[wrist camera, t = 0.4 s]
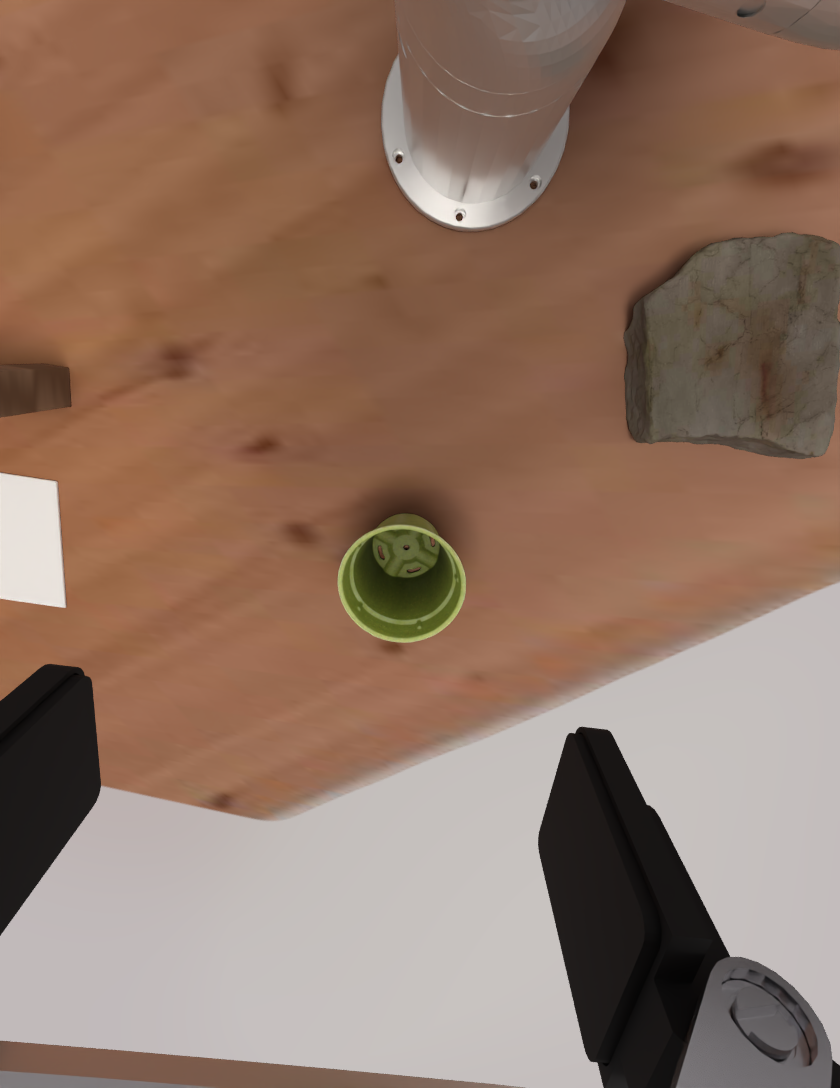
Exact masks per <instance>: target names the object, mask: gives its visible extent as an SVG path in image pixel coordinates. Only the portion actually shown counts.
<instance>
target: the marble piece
mask: <svg viewBox="0 0 840 1088" xmlns="http://www.w3.org/2000/svg"><path fill="white" fill-rule="evenodd" d="M839 299H840V246H839V244H838V243H836V242H834V241H831V240H827V239H825V238H823V237H820V236H815V235H806V234H803V235H798V234H795V233H793V232H792V233H781V234H779V235H776V236H774V237H754V238H733V239H730V240H726V241H721V242H716V243H711V244H709V245H708V246H706V247H704V248H702V249H701V250H699V251H698V252H696V253H695V254H694V255H693V256H692V257H691V258H690V259H689V260H688V261H687V262H686V263H685V264H684V265H683V267H682V268H681V269H680V270H679V271H678V272H677V273H676V274H675V276H674V277H673V278H672V279H670V280H668V281H666V282H665V283H664V284H663V285H661V286H659V287H658V288H656V289H655V290H654V291H652V292H651V293H649V294H647V295H645V296H644V297H643V298H641V299H640V300H639V301H638V302H637V303H636V304H635V305H634V308H633V319H632V321H631V324H630V327H629V328H628V329H627V330H626V331H625V333H624V341H625V346H626V349H627V352H628V364H627V367H626V370H625V374H624V380H625V401H626V419H627V422H628V425H629V431H630V432H631V433H632V436H633V438H634V440H635V441H636V442H639V443H649V444H653V443H655V442H690V443H693V444H720V445H726V446H730V447H732V448H734V449H739V450H745V451H748V452H754V453H757V454H761V455H766V456H773V457H785V458H795V459H805V458H811V457H819V456H822V455H823V454H825V452H826V450H827V448H828V446H829V442H830V438H831V436H832V434H833V430H834V422H835V407H836V401H837V379H838V372H839V368H840V361H839V357H840V322H839V321H838V319H837V313H838V304H839Z"/></svg>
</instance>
